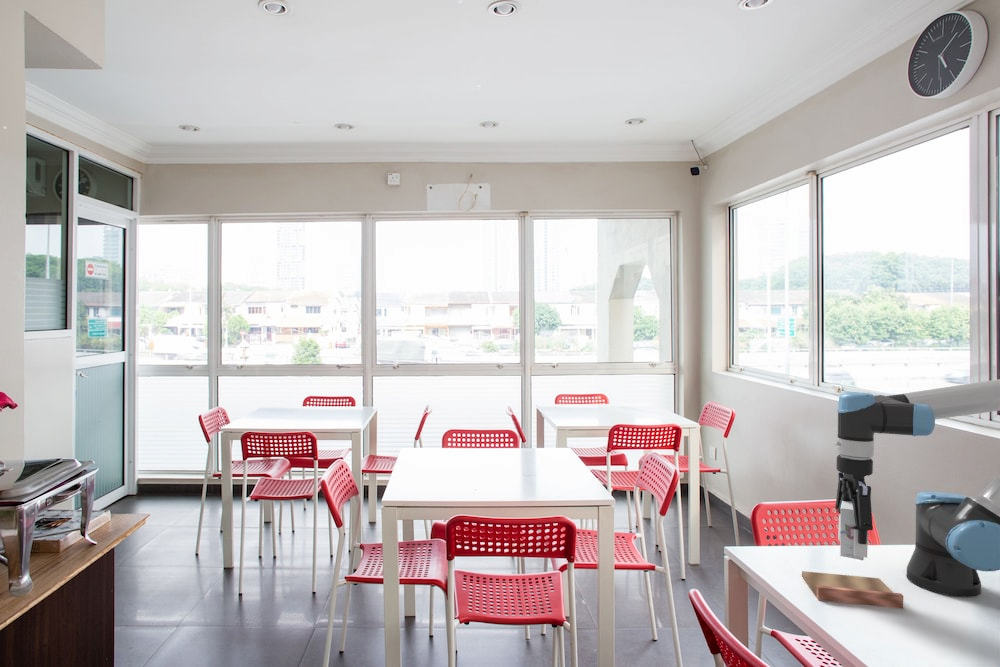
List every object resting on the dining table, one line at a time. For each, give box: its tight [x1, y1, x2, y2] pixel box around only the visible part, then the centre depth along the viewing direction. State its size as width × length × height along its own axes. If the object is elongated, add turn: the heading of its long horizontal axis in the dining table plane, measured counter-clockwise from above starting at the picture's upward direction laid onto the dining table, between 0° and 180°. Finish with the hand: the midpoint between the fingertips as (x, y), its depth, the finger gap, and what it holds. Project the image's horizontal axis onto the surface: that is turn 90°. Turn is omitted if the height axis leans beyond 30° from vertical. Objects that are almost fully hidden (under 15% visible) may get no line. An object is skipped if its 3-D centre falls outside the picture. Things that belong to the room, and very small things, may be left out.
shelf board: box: [801, 570, 904, 610], centre depth 144 cm, size 18×13×3 cm
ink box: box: [839, 501, 865, 561], centre depth 142 cm, size 9×5×12 cm, turn 148°
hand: (852, 548), depth 142 cm, fingers closed on ink box, 9 cm apart
